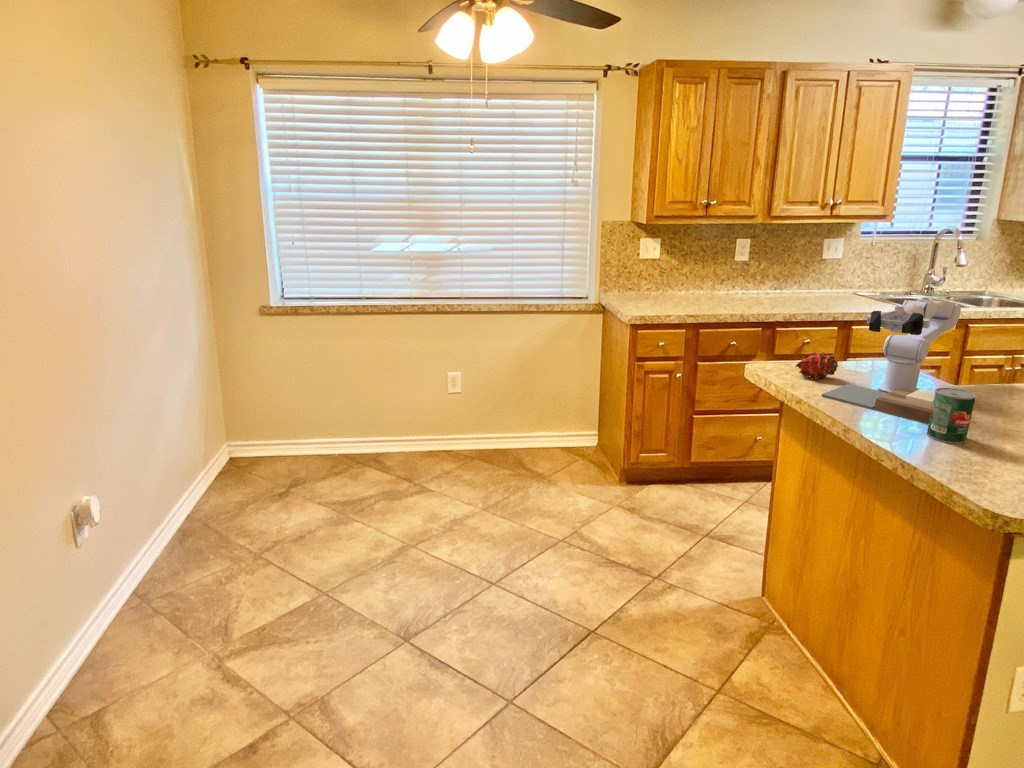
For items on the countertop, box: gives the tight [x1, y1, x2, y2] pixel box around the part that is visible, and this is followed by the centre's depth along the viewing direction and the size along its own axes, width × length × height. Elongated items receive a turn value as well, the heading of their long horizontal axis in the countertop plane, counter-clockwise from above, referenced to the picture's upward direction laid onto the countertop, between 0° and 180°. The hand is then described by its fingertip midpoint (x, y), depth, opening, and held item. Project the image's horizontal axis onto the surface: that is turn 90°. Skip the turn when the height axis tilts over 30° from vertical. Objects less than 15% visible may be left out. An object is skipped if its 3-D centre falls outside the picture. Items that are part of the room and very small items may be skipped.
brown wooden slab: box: [873, 388, 932, 425], centre depth 174 cm, size 16×14×3 cm
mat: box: [821, 383, 889, 410], centre depth 184 cm, size 16×14×1 cm
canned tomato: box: [926, 387, 977, 445], centre depth 155 cm, size 8×8×11 cm
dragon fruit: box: [795, 351, 839, 380], centre depth 201 cm, size 8×8×12 cm
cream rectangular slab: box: [905, 388, 936, 409], centre depth 171 cm, size 9×6×2 cm, turn 130°
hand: (886, 327), depth 170 cm, fingers open, 7 cm apart
